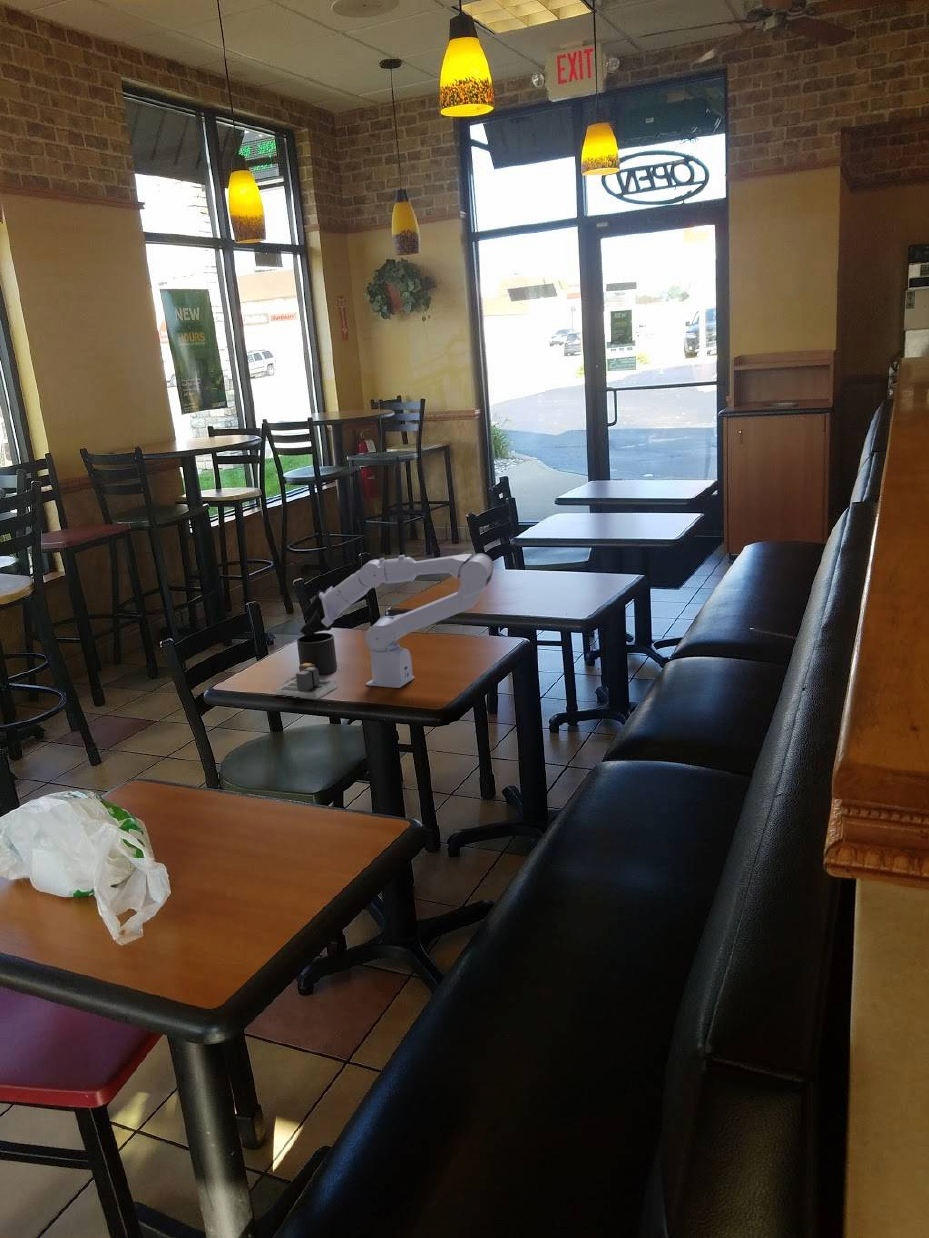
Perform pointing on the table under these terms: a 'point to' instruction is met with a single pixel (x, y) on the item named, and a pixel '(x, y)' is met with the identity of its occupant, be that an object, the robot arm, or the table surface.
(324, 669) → the mug
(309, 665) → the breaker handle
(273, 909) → the table surface
